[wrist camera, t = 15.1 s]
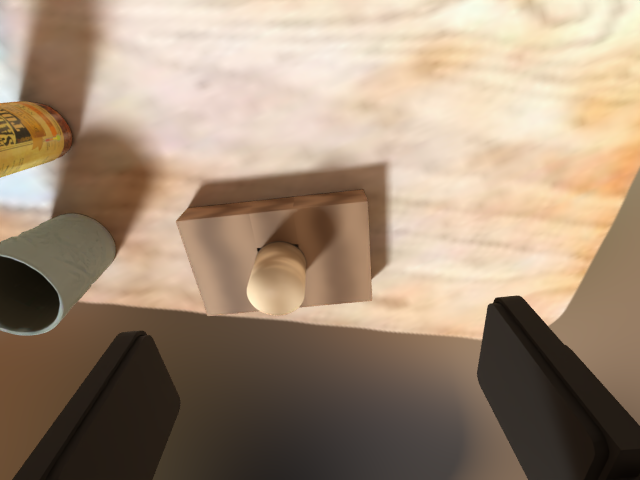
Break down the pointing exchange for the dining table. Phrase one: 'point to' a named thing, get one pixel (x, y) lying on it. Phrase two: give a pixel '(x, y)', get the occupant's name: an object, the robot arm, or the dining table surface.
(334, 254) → the walnut slab
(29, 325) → the grey green cup
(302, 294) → the wooden peg
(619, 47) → the dining table surface
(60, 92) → the dining table surface
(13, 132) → the sauce bottle
